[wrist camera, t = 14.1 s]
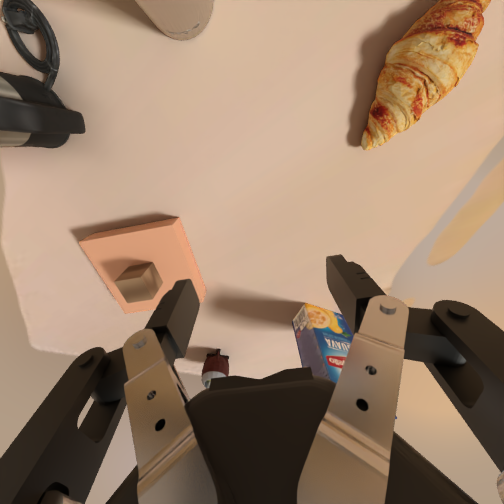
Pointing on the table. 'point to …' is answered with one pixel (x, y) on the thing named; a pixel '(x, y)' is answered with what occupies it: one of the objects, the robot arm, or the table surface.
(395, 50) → the croissant
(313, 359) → the beverage box
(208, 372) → the mate gourd
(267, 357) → the table surface
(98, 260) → the terracotta base
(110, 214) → the table surface
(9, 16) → the milk frother
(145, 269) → the walnut cube
